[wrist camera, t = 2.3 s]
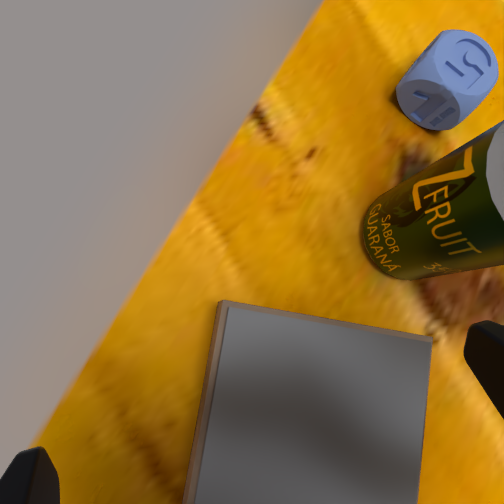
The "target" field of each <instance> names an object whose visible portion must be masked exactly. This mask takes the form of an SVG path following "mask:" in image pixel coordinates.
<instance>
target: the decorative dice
mask: <svg viewBox="0 0 504 504" xmlns="http://www.w3.org/2000/svg"><path fill="white" fill-rule="evenodd" d="M497 79H498V64H497V60H496V57H495V54H494V52H493V50H492V49H491V47H490V46H489V45H488V44H487V43H486V42H485V41H484V40H483V39H482V38H481V37H479V36H477V35H475V34H473V33H471V32H467V31H464V30H445V31H442V32H441V33H440V34H439V35H438V36H437V37H436V38H435V39H434V40H433V41H432V42H431V43H430V44H429V46H428V47H427V48H426V49H425V50H424V51H423V53H422V54H421V55H420V56H419V57H418V59H417V60H416V61H415V62H414V64H413V65H412V66H411V67H410V69H409V70H408V71H407V72H406V74H405V75H404V76H403V78H402V79H401V81H400V82H399V83H398V85H397V87H396V95H397V100H398V103H399V105H400V107H401V109H402V111H403V112H404V114H405V115H406V116H407V117H408V118H409V119H410V120H411V121H413V122H414V123H416V124H417V125H419V126H421V127H424V128H427V129H431V130H449V129H452V128H453V127H455V126H456V125H458V124H459V123H460V122H461V121H463V120H464V119H465V118H466V117H467V116H468V115H469V114H470V113H471V112H472V111H473V110H474V109H475V108H476V107H477V106H478V105H479V104H480V103H481V102H482V101H483V100H484V98H485V97H486V96H487V95H488V93H489V92H490V91H491V89H492V88H493V87H494V85H495V83H496V82H497Z"/></svg>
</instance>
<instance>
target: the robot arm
mask: <svg viewBox="0 0 504 504" xmlns="http://www.w3.org/2000/svg"><path fill="white" fill-rule="evenodd" d="M464 358H465V360H466V362H467V364H468V366H469V367H470V369H471V370H472V372H473V373H474V375H475V376H476V378H477V379H478V381H479V383H480V384H481V386H482V387H483V389H484V390H485V392H486V393H487V395H488V396H489V398H490V399H491V401H492V403H493V404H494V406H495V407H496V409H497V410H498V412H499V413H500V415H501V416H502V418H503V419H504V326H503V325H500V324H498V323H495V322H492V321H488V320H486V321H482V322H478V323H474V324H472V325H471V326H470V327H469V329H468V332H467V337H466V342H465V346H464ZM0 504H60V488H59V477H58V474H57V471H56V469H55V467H54V465H53V463H52V461H51V459H50V458H49V456H48V454H47V452H46V450H45V449H44V448H43V447H35V448H32V449H28V450H24V451H21V452H20V453H18V454H17V455H16V456H15V458H14V459H13V461H12V462H11V464H10V465H9V467H8V468H7V470H6V471H5V473H4V474H3V476H2V477H1V479H0Z"/></svg>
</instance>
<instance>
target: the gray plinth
mask: <svg viewBox="0 0 504 504" xmlns="http://www.w3.org/2000/svg"><path fill="white" fill-rule="evenodd" d="M432 341H433V337H429V336H423V335H417V334H412V333H406V332H401V331H395V330H389V329H384V328H378V327H373V326H367V325H361V324H356V323H350V322H344V321H339V320H333V319H328V318H322V317H316V316H311V315H305V314H300V313H294V312H288V311H283V310H277V309H272V308H266V307H260V306H255V305H249V304H244V303H238V302H232V301H227V300H222V301H219V302H218V306H217V312H216V317H215V323H214V328H213V334H212V340H211V345H210V351H209V356H208V362H207V367H206V373H205V378H204V384H203V390H202V395H201V401H200V406H199V412H198V417H197V423H196V428H195V434H194V440H193V445H192V451H191V456H190V462H189V467H188V473H187V478H186V484H185V490H184V495H183V501H182V504H417V502H418V492H419V481H420V470H421V459H422V449H423V438H424V427H425V416H426V406H427V395H428V384H429V373H430V362H431V352H432Z"/></svg>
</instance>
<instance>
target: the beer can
mask: <svg viewBox="0 0 504 504" xmlns="http://www.w3.org/2000/svg"><path fill="white" fill-rule="evenodd" d="M363 238H364V243H365V248H366V250H367V252H368V254H369V255H370V257H371V259H372V260H373V261H374V262H375V263H376V264H377V265H378V266H379V267H380V268H381V269H382V270H383V271H384V272H386V273H388V274H390V275H392V276H393V277H395V278H398V279H404V280H410V281H411V280H417V279H422V278H428V277H434V276H440V275H446V274H452V273H458V272H464V271H470V270H476V269H482V268H487V267H493V266H499V265H504V120H503V121H502V122H500V123H498V124H497V125H495V126H494V127H492V128H490V129H489V130H487V131H485V132H484V133H482V134H480V135H479V136H477V137H476V138H474V139H472V140H471V141H469V142H467V143H466V144H464V145H462V146H461V147H459V148H458V149H456V150H454V151H453V152H451V153H449V154H448V155H446V156H444V157H443V158H441V159H439V160H438V161H436V162H435V163H433V164H431V165H430V166H428V167H426V168H425V169H423V170H421V171H420V172H418V173H417V174H415V175H413V176H412V177H410V178H408V179H407V180H405V181H403V182H402V183H400V184H399V185H397V186H395V187H394V188H392V189H390V190H389V191H387V192H385V193H384V194H382V195H381V196H379V197H378V198H377V199H376V200H375V201H374V202H373V204H372V205H371V206H370V208H369V210H368V212H367V214H366V216H365V219H364V229H363Z"/></svg>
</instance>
